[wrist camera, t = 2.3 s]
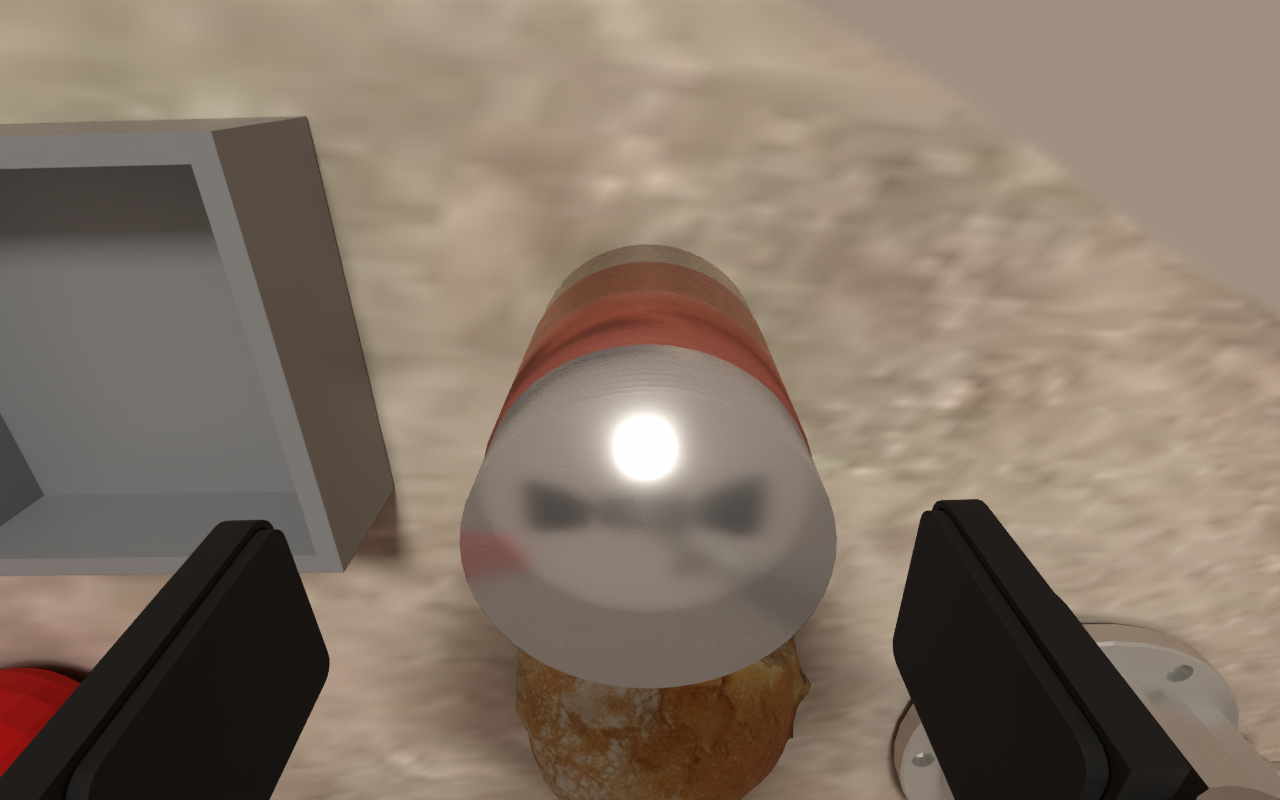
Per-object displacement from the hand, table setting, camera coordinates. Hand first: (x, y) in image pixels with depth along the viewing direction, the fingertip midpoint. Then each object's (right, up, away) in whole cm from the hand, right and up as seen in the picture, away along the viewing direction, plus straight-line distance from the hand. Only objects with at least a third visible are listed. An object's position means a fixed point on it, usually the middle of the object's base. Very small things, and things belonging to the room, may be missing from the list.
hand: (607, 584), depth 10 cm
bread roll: (+1, -6, +15) cm, 16 cm away
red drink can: (+1, +4, +9) cm, 10 cm away
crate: (-13, +5, +9) cm, 17 cm away
